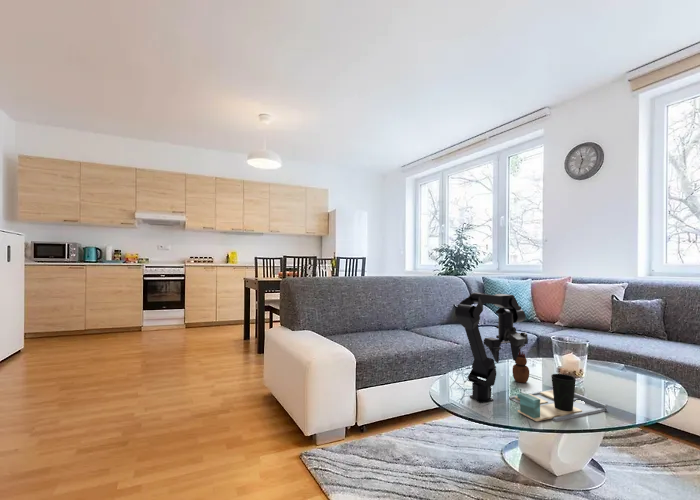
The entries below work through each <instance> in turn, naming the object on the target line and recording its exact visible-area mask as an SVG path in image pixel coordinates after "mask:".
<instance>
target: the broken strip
mask: <svg viewBox="0 0 700 500" xmlns="http://www.w3.org/2000/svg"><path fill="white" fill-rule="evenodd" d="M550 390H551V391H546V390H544V391H545V392H540V391H539V392H540V394H542V395H544V396H546V397H549V398H551V399H553V400H554V396H553V390H552V389H550ZM525 393H526V392H518V393H516V394H517V396H516V395H515V396H516V397H515V399H518V400H520V394H525ZM529 395H531V396H534V395H532V394H529ZM534 397H536V396H534ZM536 398H538V399H540V405H541V404H546V403H548V401H545V400H543V399H541V398H539V397H536Z"/></svg>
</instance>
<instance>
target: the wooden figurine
mask: <svg viewBox="0 0 700 500" xmlns="http://www.w3.org/2000/svg"><path fill="white" fill-rule="evenodd" d="M527 362H528V360H527V358H526V355H525V353H523V351H521V350H520V351H519V353H518V356H517V359H516V361H514V363H515V364H513V365H512V377H513V380H514V381H515V382H517V383H520V384H524V383H525V384H526V383H527V382H528V380H529V378H530V368H529V367H528V366H527V364H528V363H527Z"/></svg>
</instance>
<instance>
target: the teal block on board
mask: <svg viewBox="0 0 700 500" xmlns="http://www.w3.org/2000/svg"><path fill="white" fill-rule="evenodd" d="M524 393H525V394H520V404H519V406H520V407H519V409H517V412H518V413H520V414H521V415H524V416H525V417H527V418H529V419H531V420H533V421H535V422H541V421H545V420H546V421H547V420H552V419H551V418H555V417H559V416H564V415H569V414H574V413H579V412H582V410H580V409H578V408H576V407H573V410H572V411H562V410H559V409H556V408H555V405H554V403H552V404H547V405H542V406H540V399H538V398H536V397H534V396H531V395H529V394H528V393H526V392H524Z"/></svg>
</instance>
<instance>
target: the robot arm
mask: <svg viewBox="0 0 700 500" xmlns="http://www.w3.org/2000/svg"><path fill="white" fill-rule="evenodd" d="M474 303H475V304H476V305H474ZM484 304H488V305H489V304H490V305H494V306H495V307H497V308H498V309H497V310H496V311H495V314H496V315H497V317H498V319H497V320H498V321H497V323H498V325H495V328H496V329H498V335H497V334H496V335H495V336H496V337H485V338H484V339H483V338H482V335H481V332H480V331H481V330H480V328H479V322H480V320H481V317H480V316H481V315H482V313H483V311H484ZM454 313H455V317H456V319H457V322H459V324H461V325H460V326H462V327H463V328H464V330H465V333H466V337H467V340H468V344H469V346H470V350H471V353H472V356H473V361H472V364H471V367H472V368H471V370H470V372H469V374H468V375H467V379H468V381H469V382H470V383H472V386H471V387H472V388H471V389H472V394H471V395H469V397H470V399H472V400H475V401H476V402H478V403H481V404H482V403H487V402H493V401H494V398H493V397H492V387H493V386H495V384H496V378H497V366H496V363H497V364H498V363H499V360H500V350H501V349H502V347H501V345H502V344H510V349H511V350H510V351H511V357H512V360H513V361H514V362H515V361H516V359H517V356H518V354H519V351H521V349H522V348H523V347H526V345H528V344H529V339H528V333H527V332H525V331H524V332H517V327H515V326H514V324H515V323H516V324H517V323H521V322H524V321H525V320H526V317H527V315H526V313H525V311H524V310H523V309H522V306H520V305H519V302H518V301H517V299H516V296H515V295H513V294H509V293H508V294H507V293H506V294H505V293H496V294H489V293H488V294H487V293H483V292H476V291H475V292H472V293H470V294H469V296H468V297H466V298H465V299H463V300H461V301H460V303H459V304H458V305H457V306H456V308H455V310H454ZM485 346H486V347H487V348H488V349H489V351H490V353H491V355H492V357H493V358H491V357H488V355H487V352H486V349H485Z"/></svg>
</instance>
